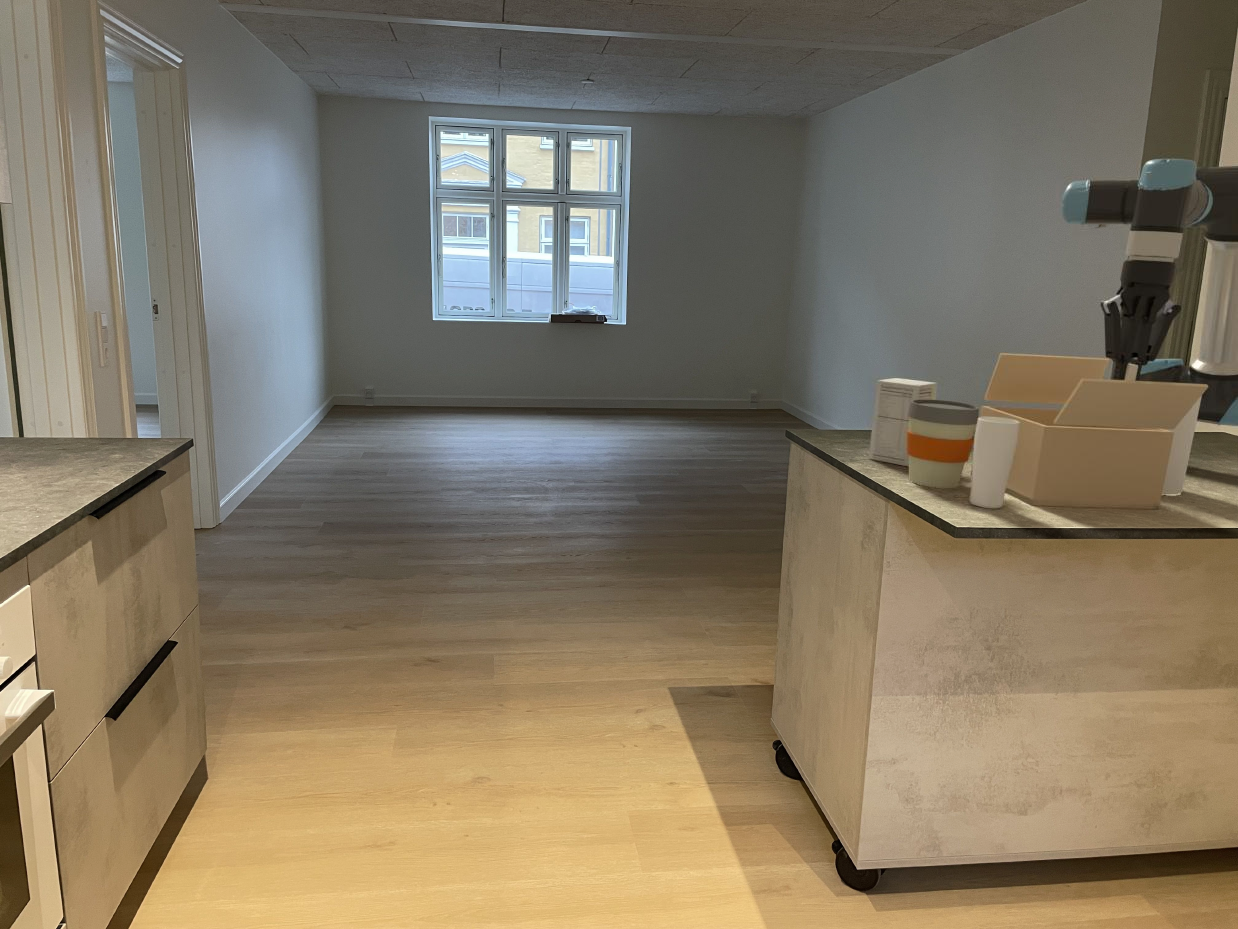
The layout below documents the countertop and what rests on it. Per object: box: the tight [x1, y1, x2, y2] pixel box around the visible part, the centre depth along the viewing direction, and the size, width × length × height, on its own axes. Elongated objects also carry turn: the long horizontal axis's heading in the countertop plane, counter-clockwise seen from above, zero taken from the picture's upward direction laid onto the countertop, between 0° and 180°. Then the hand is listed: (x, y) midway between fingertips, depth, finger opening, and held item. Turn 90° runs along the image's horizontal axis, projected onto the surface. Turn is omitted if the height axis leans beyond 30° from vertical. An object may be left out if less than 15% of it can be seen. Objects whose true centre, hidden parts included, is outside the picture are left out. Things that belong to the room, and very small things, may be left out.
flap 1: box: [983, 352, 1110, 405], centre depth 172 cm, size 22×10×1 cm
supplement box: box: [868, 377, 938, 467], centre depth 185 cm, size 10×9×17 cm
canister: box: [1162, 395, 1202, 495], centre depth 173 cm, size 14×14×20 cm
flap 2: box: [1053, 378, 1208, 429], centre depth 148 cm, size 22×10×1 cm
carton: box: [970, 405, 1174, 510], centre depth 165 cm, size 24×22×14 cm
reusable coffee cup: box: [907, 399, 980, 489], centre depth 166 cm, size 13×13×15 cm
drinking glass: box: [969, 416, 1020, 510], centre depth 151 cm, size 7×7×15 cm
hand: (1121, 402), depth 150 cm, fingers closed
